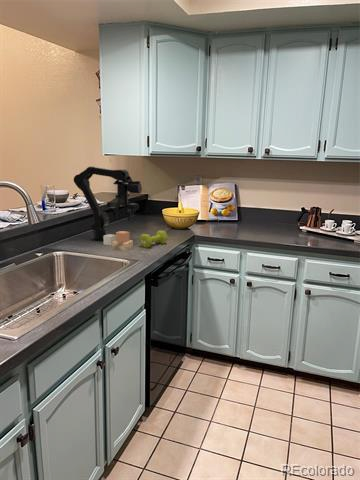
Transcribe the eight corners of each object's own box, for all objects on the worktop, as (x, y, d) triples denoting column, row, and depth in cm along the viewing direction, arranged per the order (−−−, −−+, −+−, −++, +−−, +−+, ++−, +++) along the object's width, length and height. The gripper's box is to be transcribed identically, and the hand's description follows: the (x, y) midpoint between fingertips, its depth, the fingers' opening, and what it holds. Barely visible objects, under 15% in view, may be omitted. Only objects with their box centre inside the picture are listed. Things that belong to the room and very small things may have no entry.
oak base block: (112, 249, 201) (112, 242, 200) (119, 246, 209) (119, 239, 208) (126, 251, 199) (126, 243, 198) (133, 247, 206) (133, 240, 205)
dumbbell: (148, 249, 203) (148, 236, 201) (137, 246, 208) (137, 233, 206) (168, 244, 215) (169, 231, 213) (158, 241, 220) (158, 229, 218)
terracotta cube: (115, 241, 202) (115, 232, 201) (121, 240, 206) (121, 230, 205) (123, 243, 199) (123, 233, 198) (129, 241, 204) (129, 232, 202)
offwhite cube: (103, 244, 210) (103, 235, 209) (109, 242, 215) (109, 234, 214) (110, 245, 208) (110, 236, 207) (116, 244, 212) (116, 235, 211)
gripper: (99, 192, 209) (100, 220, 213) (127, 195, 200) (127, 224, 204) (113, 191, 219) (113, 218, 222) (139, 193, 210) (139, 221, 213)
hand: (122, 220), depth 215 cm, fingers open, 9 cm apart
